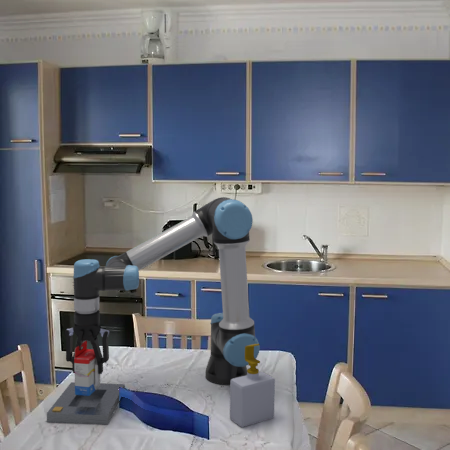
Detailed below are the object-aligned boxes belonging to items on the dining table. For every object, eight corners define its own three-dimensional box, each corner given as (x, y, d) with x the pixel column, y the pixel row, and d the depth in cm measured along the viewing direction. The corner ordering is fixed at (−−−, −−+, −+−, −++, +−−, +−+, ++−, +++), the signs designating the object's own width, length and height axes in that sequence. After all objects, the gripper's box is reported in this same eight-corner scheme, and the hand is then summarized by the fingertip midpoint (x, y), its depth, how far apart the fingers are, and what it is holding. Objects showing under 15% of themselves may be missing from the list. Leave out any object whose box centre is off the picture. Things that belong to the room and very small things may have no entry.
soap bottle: (241, 428, 159) (242, 350, 156) (228, 419, 164) (230, 343, 161) (274, 418, 165) (276, 343, 162) (261, 409, 171) (263, 337, 168)
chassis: (124, 392, 181) (124, 383, 181) (107, 424, 160) (107, 414, 159) (71, 390, 182) (71, 381, 182) (46, 422, 160) (46, 412, 160)
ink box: (89, 396, 165) (88, 350, 164) (74, 395, 166) (73, 348, 165) (101, 385, 174) (100, 340, 172) (86, 383, 175) (85, 339, 173)
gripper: (119, 307, 170) (120, 379, 173) (61, 306, 171) (62, 377, 174) (113, 314, 163) (114, 389, 166) (52, 312, 164) (54, 387, 167)
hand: (88, 382), depth 170 cm, fingers closed on ink box, 5 cm apart
